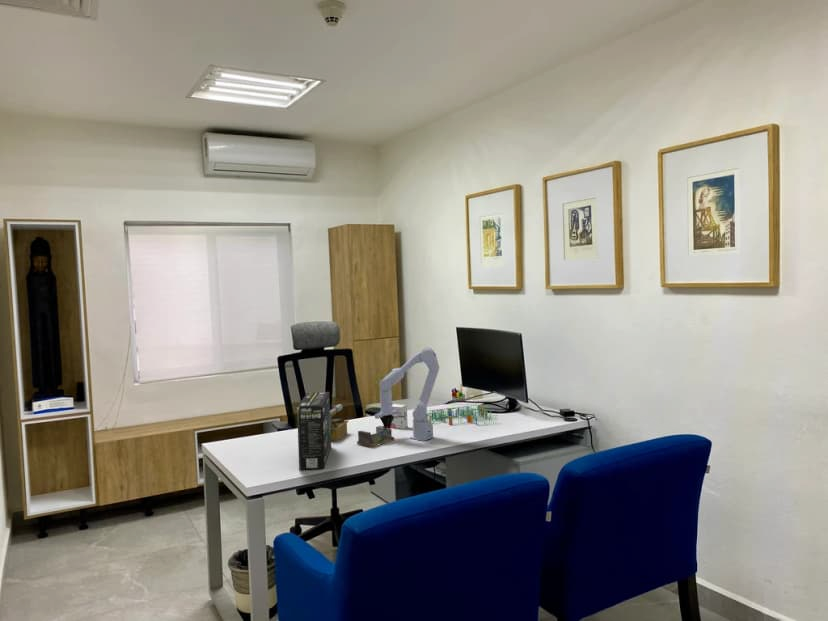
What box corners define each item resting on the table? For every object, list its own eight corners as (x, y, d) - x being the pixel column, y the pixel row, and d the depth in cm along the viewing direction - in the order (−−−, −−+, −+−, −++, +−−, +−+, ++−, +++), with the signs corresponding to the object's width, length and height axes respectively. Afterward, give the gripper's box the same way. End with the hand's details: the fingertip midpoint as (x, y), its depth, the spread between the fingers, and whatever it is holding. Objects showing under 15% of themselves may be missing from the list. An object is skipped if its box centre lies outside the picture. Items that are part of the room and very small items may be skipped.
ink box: (389, 428, 322) (388, 405, 322) (394, 425, 327) (393, 403, 326) (403, 429, 318) (402, 406, 318) (408, 427, 323) (407, 404, 322)
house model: (478, 412, 354) (477, 404, 353) (502, 423, 326) (502, 414, 326) (421, 419, 342) (421, 411, 341) (442, 430, 314) (441, 421, 314)
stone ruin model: (380, 437, 303) (380, 424, 303) (394, 439, 297) (393, 426, 297) (357, 444, 291) (356, 430, 291) (370, 447, 285) (369, 433, 285)
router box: (325, 469, 254) (322, 405, 252) (298, 471, 253) (295, 406, 252) (332, 446, 289) (329, 390, 288) (308, 447, 289) (306, 391, 287)
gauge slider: (380, 433, 300) (380, 425, 300) (391, 435, 296) (390, 427, 295) (376, 435, 298) (376, 426, 298) (386, 437, 293) (386, 428, 293)
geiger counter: (349, 432, 315) (348, 403, 315) (332, 446, 290) (330, 414, 290) (332, 432, 317) (331, 403, 317) (314, 445, 292) (312, 414, 292)
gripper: (390, 399, 308) (391, 426, 308) (369, 404, 297) (371, 432, 298) (401, 401, 303) (402, 428, 304) (380, 406, 292) (381, 434, 293)
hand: (387, 430), depth 300 cm, fingers closed
